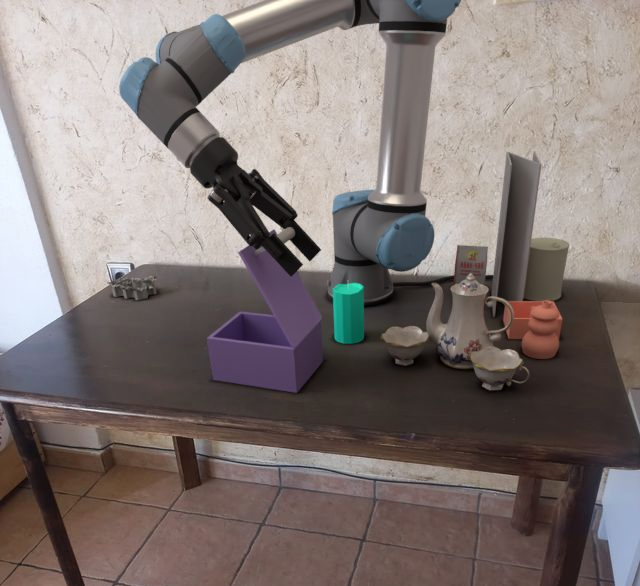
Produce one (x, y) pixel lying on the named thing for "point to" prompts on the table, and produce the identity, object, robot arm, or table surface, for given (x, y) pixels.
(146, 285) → the egg carton
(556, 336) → the pottery
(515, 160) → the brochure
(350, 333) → the candle
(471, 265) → the small printed carton
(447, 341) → the chinaware
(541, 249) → the can
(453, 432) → the table surface
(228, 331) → the box
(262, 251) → the lid
